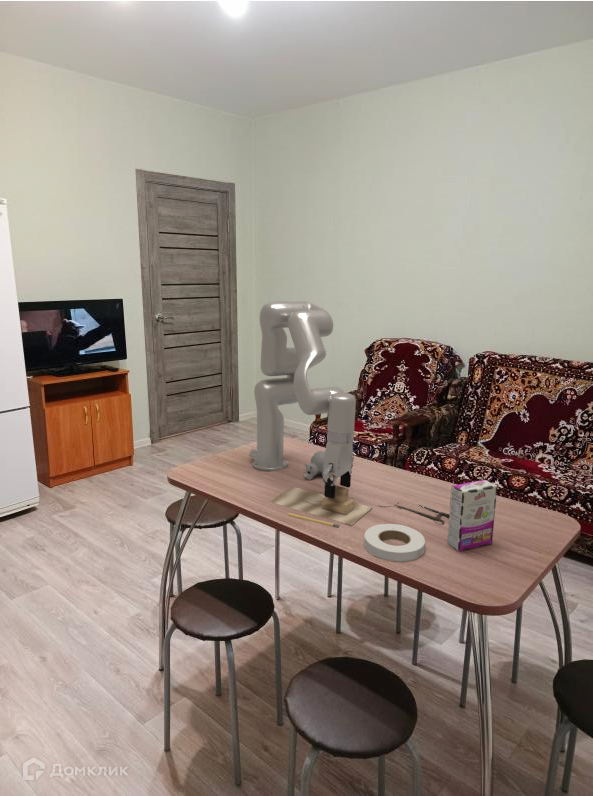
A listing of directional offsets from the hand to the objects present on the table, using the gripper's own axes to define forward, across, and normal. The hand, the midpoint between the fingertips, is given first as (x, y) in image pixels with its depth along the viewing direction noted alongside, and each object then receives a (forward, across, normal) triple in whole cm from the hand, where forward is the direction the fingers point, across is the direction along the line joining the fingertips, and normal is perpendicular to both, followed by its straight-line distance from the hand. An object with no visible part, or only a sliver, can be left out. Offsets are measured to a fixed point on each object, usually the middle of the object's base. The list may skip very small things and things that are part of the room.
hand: (337, 491), depth 160 cm
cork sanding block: (+5, 0, 0) cm, 5 cm away
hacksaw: (+6, -12, +21) cm, 25 cm away
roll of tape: (+6, +11, +23) cm, 26 cm away
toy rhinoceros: (+6, -20, -18) cm, 27 cm away
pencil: (+6, +11, -2) cm, 13 cm away
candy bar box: (+5, -1, +39) cm, 39 cm away
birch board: (+6, 0, -5) cm, 8 cm away
